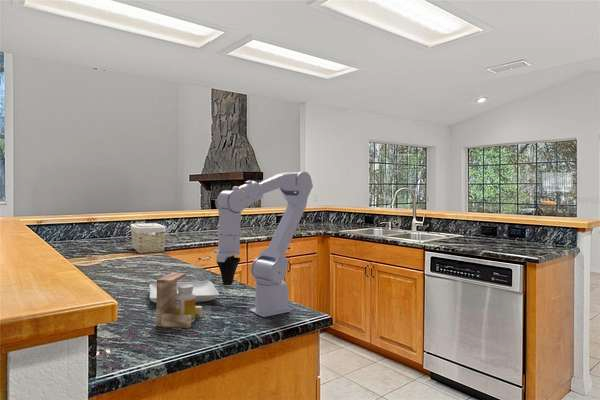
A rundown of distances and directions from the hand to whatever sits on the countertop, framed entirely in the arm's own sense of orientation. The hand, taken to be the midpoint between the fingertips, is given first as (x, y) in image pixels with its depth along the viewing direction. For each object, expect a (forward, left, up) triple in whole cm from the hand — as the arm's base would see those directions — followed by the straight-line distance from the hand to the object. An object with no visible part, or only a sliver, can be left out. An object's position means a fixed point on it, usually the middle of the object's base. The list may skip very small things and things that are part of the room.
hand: (227, 284), depth 111 cm
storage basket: (-24, -143, -11) cm, 145 cm away
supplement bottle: (+9, -8, -11) cm, 16 cm away
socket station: (+9, -8, -10) cm, 16 cm away
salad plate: (-1, -32, -11) cm, 34 cm away
